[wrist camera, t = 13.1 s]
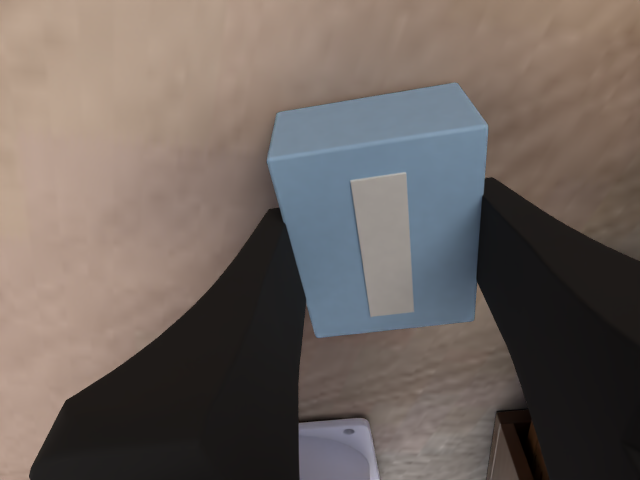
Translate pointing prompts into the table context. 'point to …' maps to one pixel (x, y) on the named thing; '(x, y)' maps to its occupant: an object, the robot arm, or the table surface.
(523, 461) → the cabinet
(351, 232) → the tissue pack
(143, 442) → the robot arm
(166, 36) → the table surface
